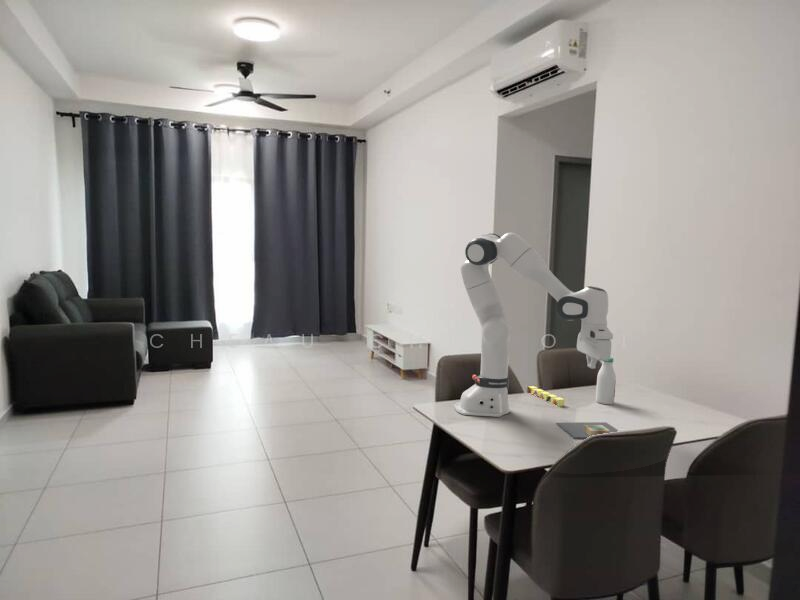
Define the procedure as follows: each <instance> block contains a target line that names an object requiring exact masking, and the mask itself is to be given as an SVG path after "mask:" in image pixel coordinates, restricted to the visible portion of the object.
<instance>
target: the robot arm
mask: <svg viewBox="0 0 800 600" xmlns="http://www.w3.org/2000/svg"><path fill="white" fill-rule="evenodd" d="M464 253H465V257H466V260H465V261H463V262H462V264H461V266H460V272H461V273H460V275H461V279H462V281H463V285H464V288H465V290H466V293H467V296H468V298H469V300H470V303H471V305H472V307H473V310H474V312H475V314H476V317H477V318H478V321H479V323H480V326H481V328H482V329H481V348H480V349H481V352H480V354H481V356H480V374H479V375H478V376H477V375H476V374H473V375H472V380H474V384H473V385H472V386H470V387H469V388H468V389H466V390H464V391H463V392H462V394H461V396H460V400H459V402H456V403H455V404H454V410H455V411H456V412H457V413H459V414H461V415H464V416H475V417H477V416H478V417H480V416H481V417H494V418H495V417H496V418H498V417H499V418H500V417H503V415H507V414H509V413H510V412H511V409H510V405H509V396H508V391H509V386H510V381H509V360H510V346H511V345H510V344H511V343H510V342H511V325H510V322H509V320H508V316H507V315H506V312H505V309H504V307H503V305H502V302H501V299H500V298H499V294H498V292H497V290H496V288H495V287H496V286H495V285H494V282H493V278H492V277H491V274H490V272H489V266H490V265H491V264H493V263H494V262H495V261H496V260H498V259H501V260H503V261H504V262H505V263H506V264H507V265H508V266H509V267H510V268H511V270H513V271H514V272H515V273H516V274H518V276H519V277H521V278H523V279H525V280H528V281H532V282H534V283H536V284H538V285H539V286H541V287H542V288H543V289H544V290H546V292H547V293H548V294H549V295H550V296H551V297H552V298H553V299H555V301H556V302H557V303H556V306H555V310H556V313H557V315H558V316H559V317H560V318H561V319H563V320H565V321H576V320H577V321H578V320H581V327H580V328H581V329H580V332H579V333H578V335H577V340H576V350H577V351H578V352H580V353H582V354H584V355H585V357H586V362H587V367H588V368H590V369H596V366H597V362H598V361H601V362H602V361H608V360H609V359H610V357H611V354H612V341H611V340H613V338H614V334H613V333H612V332H611V331H610V329H609V327H608V321H607V315H608V313H609V296H608V292H607V291H606V290H605V289H603V288H601V287H597V286H592V285H591V286H586V287H584V288H583V289H581V290H579V291H573V290H571V289H570V288H568V287H567V286H566V285H565V284H564V283H563V282H562V281H561V280H560V279H559V278H558V277H557V276H556V275H555V274H554V273H553V272H552V271H551V270H550V268H549V267H548V265H547V264H546V263H545V261H544V259H543V258H542V256H541V255H540V254H539V252H538V251H536V249H535V248H534V247H533V245H531V244H530V243H528V241H526V240H525V239H524V238H522V237H521V236H520V235H519V234H517V233H515V232H506V233H504V234H503V235H502V236H500V235H498V234H495V233H487V234H482V235H480V236H478V237H475V238H473V239H472V240H470V241H469V242H468V243H467V245H466V246H465V251H464Z"/></svg>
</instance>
